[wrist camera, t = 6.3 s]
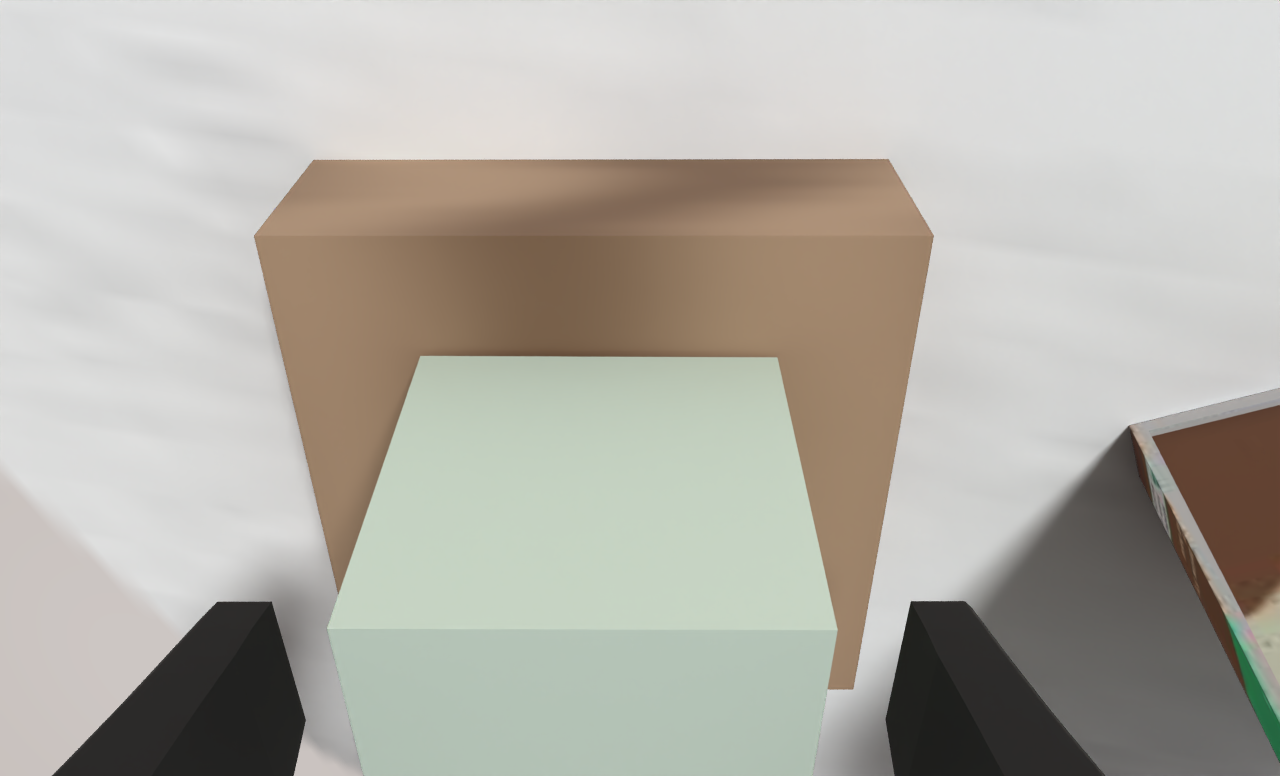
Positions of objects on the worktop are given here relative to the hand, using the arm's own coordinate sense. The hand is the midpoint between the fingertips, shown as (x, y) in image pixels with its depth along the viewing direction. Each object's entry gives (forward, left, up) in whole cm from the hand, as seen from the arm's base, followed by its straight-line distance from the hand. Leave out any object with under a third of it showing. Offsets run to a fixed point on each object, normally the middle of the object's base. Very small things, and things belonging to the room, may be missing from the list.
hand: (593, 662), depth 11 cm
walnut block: (0, 0, -6) cm, 6 cm away
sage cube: (0, 0, -3) cm, 3 cm away
